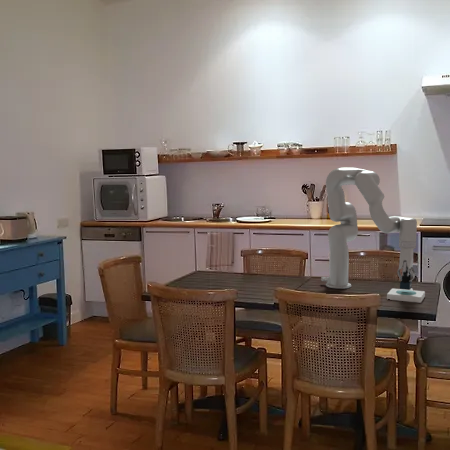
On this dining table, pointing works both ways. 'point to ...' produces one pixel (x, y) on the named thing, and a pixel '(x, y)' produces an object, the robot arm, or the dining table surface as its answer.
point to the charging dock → (406, 295)
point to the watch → (409, 285)
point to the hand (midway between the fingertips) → (406, 283)
